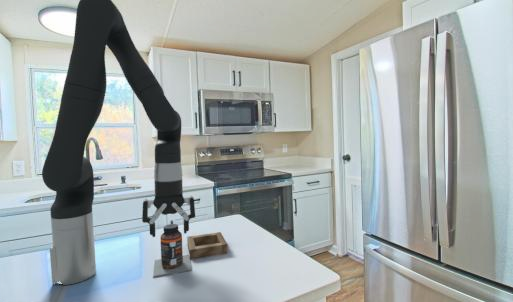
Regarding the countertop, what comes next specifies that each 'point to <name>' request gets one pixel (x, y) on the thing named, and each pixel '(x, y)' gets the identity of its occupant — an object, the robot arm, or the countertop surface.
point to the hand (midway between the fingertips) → (169, 234)
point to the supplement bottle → (171, 247)
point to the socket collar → (206, 249)
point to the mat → (162, 271)
